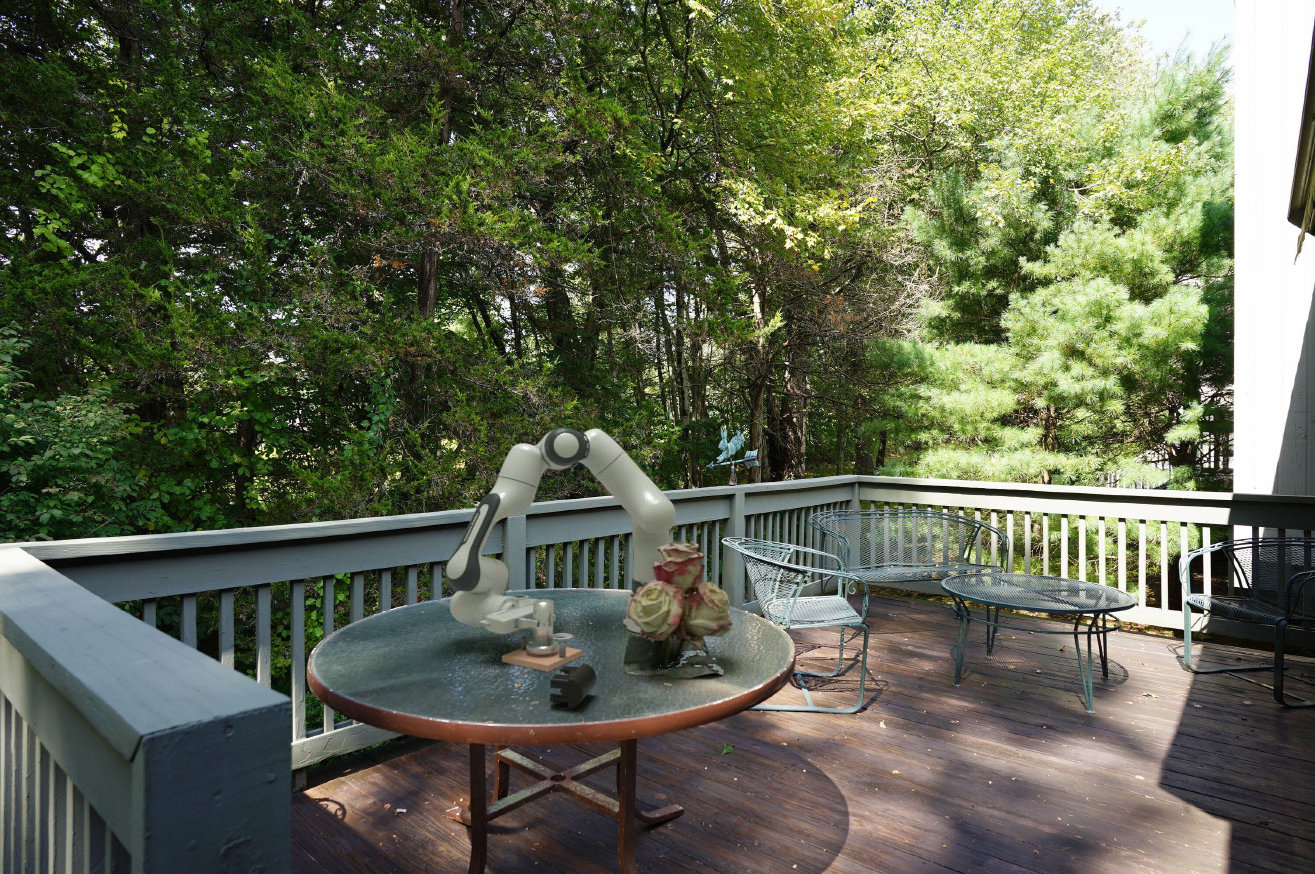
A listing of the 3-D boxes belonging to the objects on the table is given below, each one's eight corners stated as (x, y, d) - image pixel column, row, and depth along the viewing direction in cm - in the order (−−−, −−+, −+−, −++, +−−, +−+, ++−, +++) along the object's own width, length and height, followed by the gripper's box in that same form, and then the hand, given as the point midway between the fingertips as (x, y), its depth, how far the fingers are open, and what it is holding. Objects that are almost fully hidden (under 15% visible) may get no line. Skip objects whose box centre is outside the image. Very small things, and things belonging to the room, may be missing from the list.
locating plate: (538, 647, 187) (538, 630, 187) (582, 655, 180) (582, 638, 180) (502, 661, 175) (502, 643, 175) (547, 671, 168) (548, 652, 168)
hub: (539, 643, 183) (540, 596, 183) (565, 648, 179) (566, 600, 179) (519, 651, 176) (520, 602, 176) (545, 656, 172) (546, 607, 172)
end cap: (582, 712, 144) (582, 679, 144) (549, 709, 145) (549, 676, 145) (596, 695, 154) (597, 663, 154) (565, 692, 155) (565, 661, 155)
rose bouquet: (619, 681, 162) (621, 550, 162) (635, 643, 191) (637, 532, 191) (732, 686, 160) (734, 553, 160) (731, 648, 189) (733, 535, 189)
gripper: (474, 609, 175) (518, 617, 168) (528, 593, 192) (570, 600, 186) (474, 635, 175) (518, 644, 168) (528, 617, 192) (569, 624, 186)
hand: (546, 621), depth 177 cm, fingers closed on hub, 5 cm apart
